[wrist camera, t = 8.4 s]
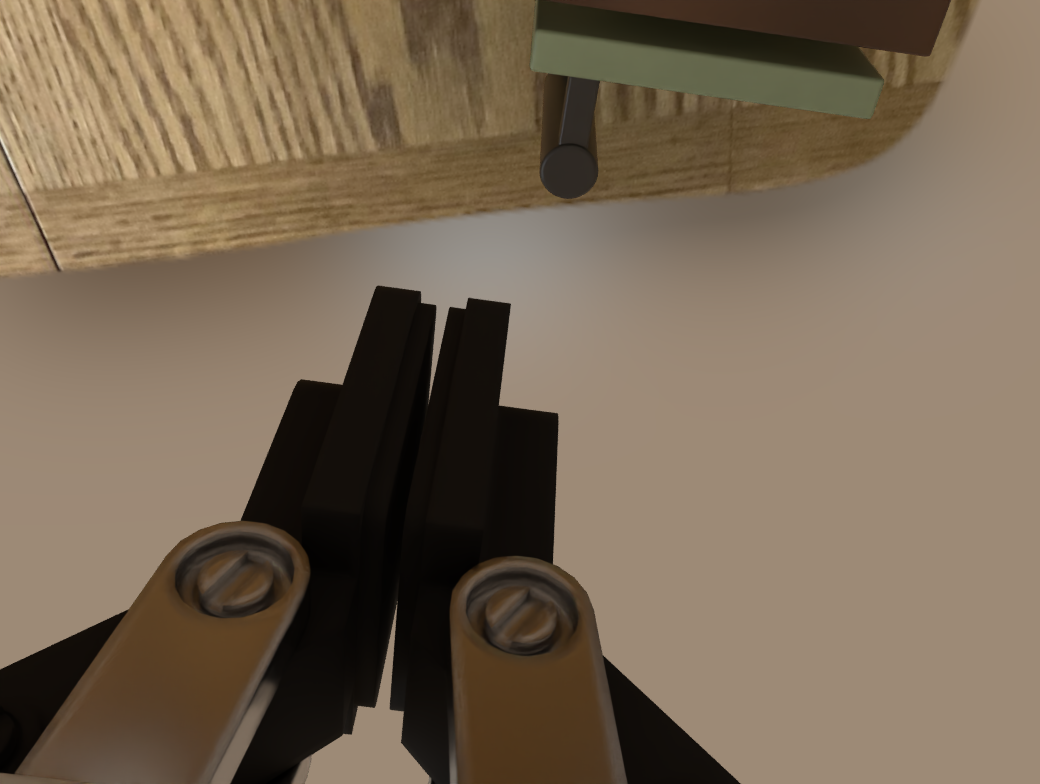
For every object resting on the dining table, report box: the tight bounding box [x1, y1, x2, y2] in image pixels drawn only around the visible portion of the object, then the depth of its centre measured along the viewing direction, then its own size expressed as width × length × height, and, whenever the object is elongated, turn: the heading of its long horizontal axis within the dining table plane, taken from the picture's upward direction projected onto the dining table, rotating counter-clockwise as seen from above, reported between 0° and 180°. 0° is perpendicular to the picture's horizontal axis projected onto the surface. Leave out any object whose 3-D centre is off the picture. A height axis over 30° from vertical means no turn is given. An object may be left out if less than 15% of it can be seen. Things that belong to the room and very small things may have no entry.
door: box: [530, 0, 884, 199], centre depth 22 cm, size 7×4×7 cm, turn 82°
